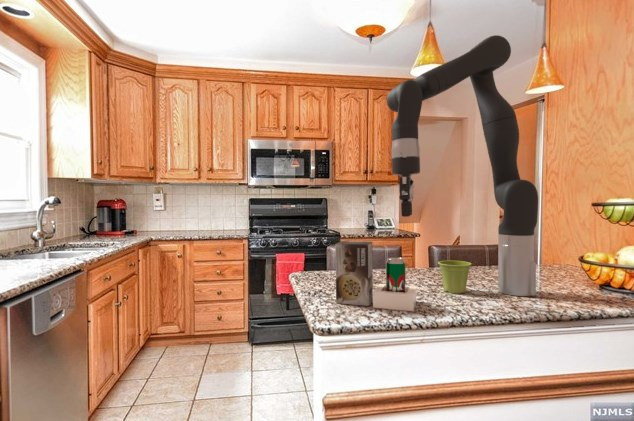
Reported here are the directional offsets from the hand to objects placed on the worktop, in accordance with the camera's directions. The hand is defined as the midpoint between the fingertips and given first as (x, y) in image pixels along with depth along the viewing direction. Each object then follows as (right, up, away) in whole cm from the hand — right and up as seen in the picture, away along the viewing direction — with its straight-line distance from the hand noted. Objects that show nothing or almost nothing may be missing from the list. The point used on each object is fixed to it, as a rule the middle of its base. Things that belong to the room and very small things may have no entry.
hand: (407, 215), depth 99 cm
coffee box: (-15, -23, -2) cm, 28 cm away
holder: (-4, -23, -5) cm, 24 cm away
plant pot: (+17, -23, +9) cm, 30 cm away
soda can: (-4, -23, -5) cm, 24 cm away
